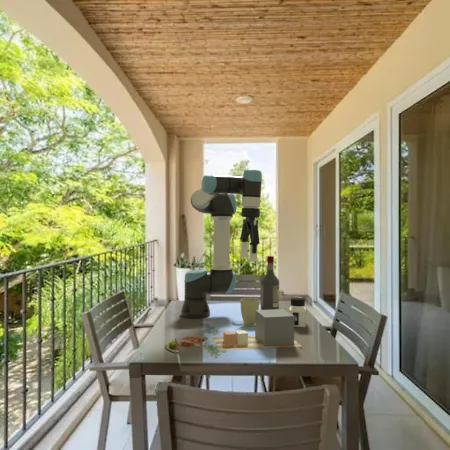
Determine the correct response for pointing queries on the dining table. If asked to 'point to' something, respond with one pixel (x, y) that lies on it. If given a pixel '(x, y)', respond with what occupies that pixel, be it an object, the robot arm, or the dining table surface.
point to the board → (252, 344)
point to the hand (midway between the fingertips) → (248, 259)
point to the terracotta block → (229, 337)
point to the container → (298, 311)
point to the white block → (241, 337)
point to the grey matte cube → (274, 327)
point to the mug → (249, 310)
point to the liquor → (270, 288)
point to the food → (183, 343)
